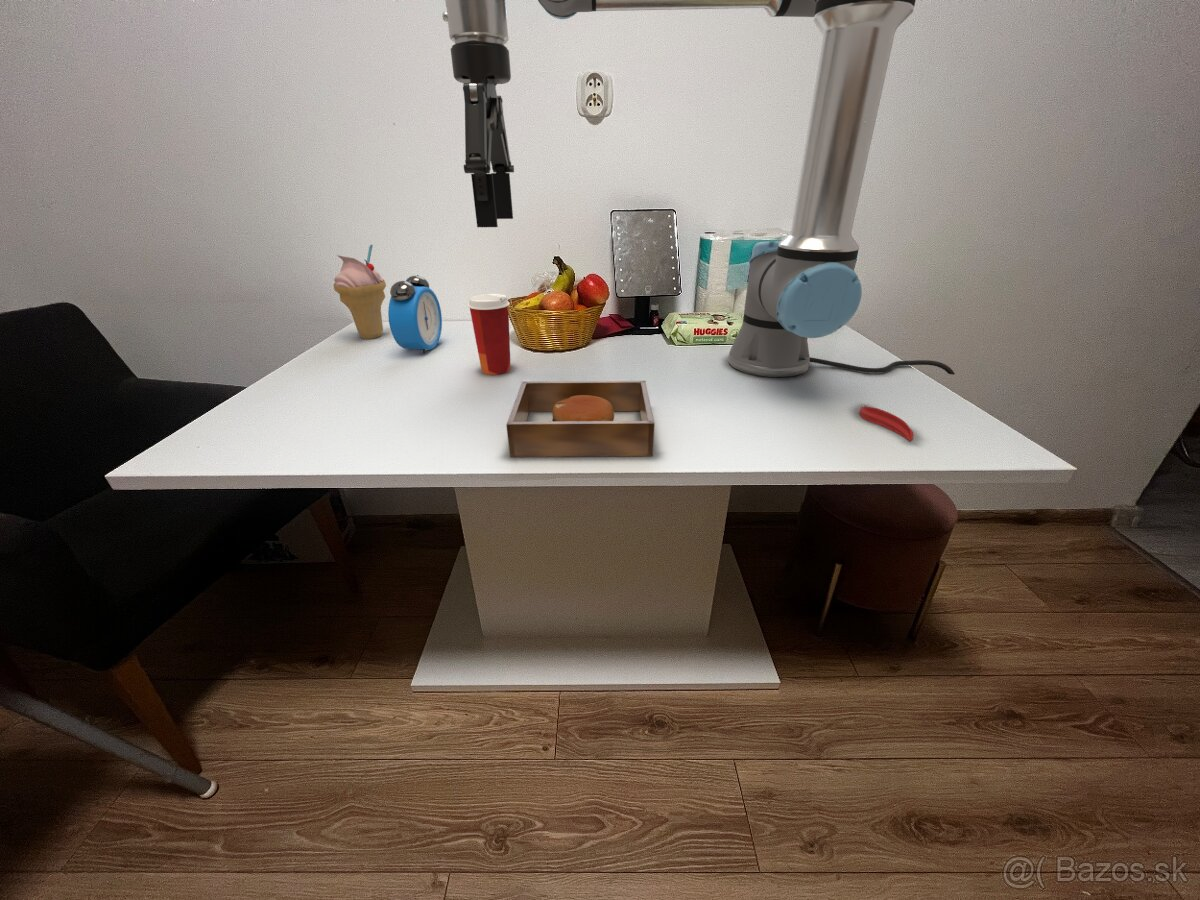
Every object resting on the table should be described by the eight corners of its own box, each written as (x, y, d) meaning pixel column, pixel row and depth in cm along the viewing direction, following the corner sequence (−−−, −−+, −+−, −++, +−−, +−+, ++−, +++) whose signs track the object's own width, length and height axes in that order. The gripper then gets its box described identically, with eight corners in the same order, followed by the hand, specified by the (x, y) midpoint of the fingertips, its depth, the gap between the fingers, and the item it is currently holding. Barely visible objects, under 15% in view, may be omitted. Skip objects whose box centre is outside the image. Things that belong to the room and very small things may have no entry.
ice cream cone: (371, 328, 128) (352, 242, 118) (405, 332, 124) (388, 244, 114) (336, 339, 119) (312, 248, 109) (371, 345, 115) (350, 251, 106)
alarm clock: (422, 358, 107) (408, 284, 99) (394, 357, 107) (378, 284, 100) (446, 340, 118) (435, 272, 111) (421, 339, 119) (408, 272, 111)
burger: (624, 439, 74) (624, 410, 72) (562, 450, 71) (560, 420, 69) (602, 413, 82) (601, 386, 80) (545, 422, 80) (543, 394, 77)
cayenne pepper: (851, 407, 83) (853, 396, 82) (879, 407, 83) (882, 396, 82) (887, 441, 73) (891, 429, 72) (920, 441, 73) (924, 429, 72)
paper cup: (522, 365, 102) (516, 294, 96) (504, 378, 96) (496, 303, 89) (488, 361, 105) (479, 291, 98) (468, 374, 98) (457, 300, 92)
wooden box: (644, 409, 83) (645, 380, 81) (652, 456, 70) (654, 423, 67) (524, 409, 83) (522, 381, 81) (509, 457, 70) (506, 424, 67)
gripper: (472, 62, 77) (488, 216, 88) (420, 20, 56) (449, 231, 66) (521, 62, 77) (531, 215, 88) (489, 20, 55) (507, 231, 66)
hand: (496, 222), depth 77 cm, fingers open, 13 cm apart
